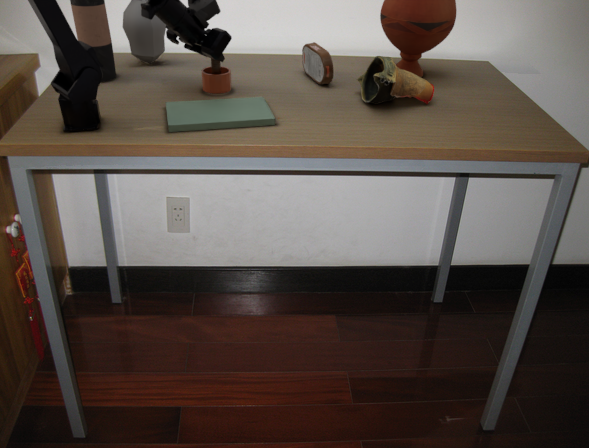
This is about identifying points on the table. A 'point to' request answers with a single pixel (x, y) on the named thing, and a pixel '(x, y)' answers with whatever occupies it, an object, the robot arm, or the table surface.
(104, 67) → the travel mug
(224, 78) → the cup
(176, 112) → the board
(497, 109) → the table surface
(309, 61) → the tin
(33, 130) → the table surface
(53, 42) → the robot arm
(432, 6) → the goblet
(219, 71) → the stirrer
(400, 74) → the pot
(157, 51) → the grey tall faceted solid
